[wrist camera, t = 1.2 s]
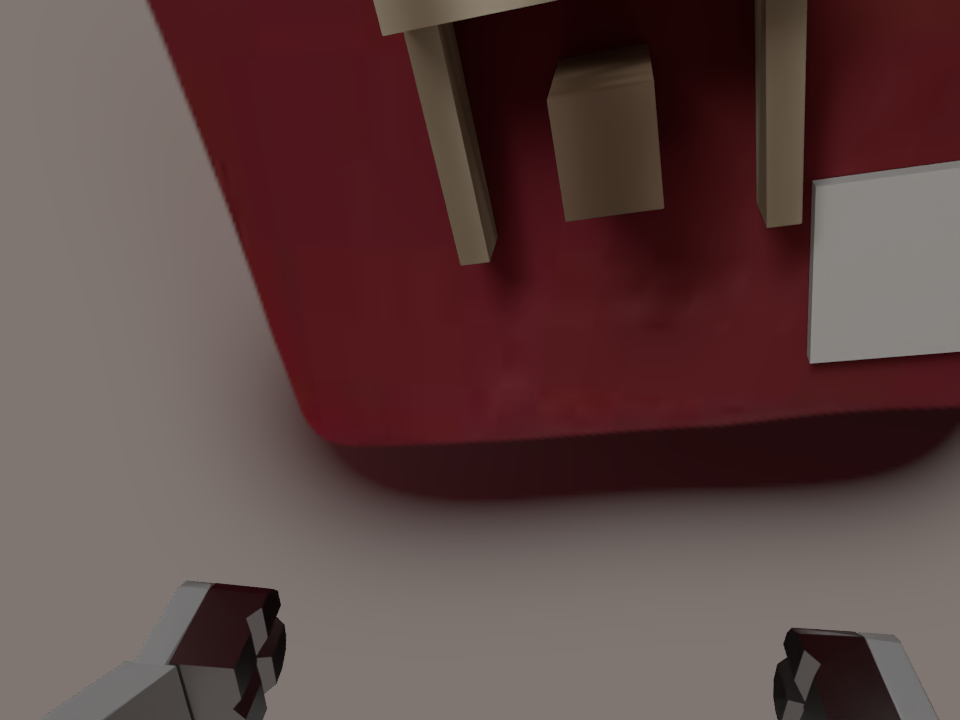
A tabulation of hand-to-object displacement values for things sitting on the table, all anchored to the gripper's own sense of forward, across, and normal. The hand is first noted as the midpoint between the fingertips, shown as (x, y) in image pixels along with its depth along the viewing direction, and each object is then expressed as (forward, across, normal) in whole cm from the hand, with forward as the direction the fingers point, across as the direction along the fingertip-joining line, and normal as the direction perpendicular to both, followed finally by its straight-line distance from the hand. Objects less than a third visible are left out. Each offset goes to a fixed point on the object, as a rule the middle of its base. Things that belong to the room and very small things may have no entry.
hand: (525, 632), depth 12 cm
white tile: (+28, -18, +4) cm, 34 cm away
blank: (+28, -3, -3) cm, 29 cm away
